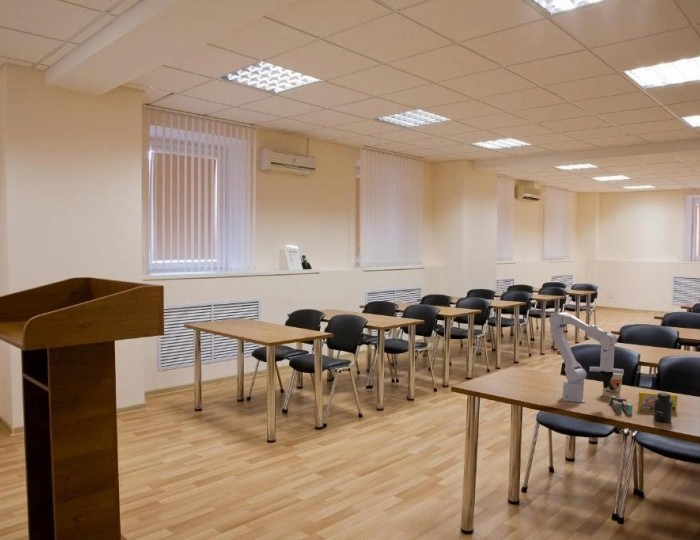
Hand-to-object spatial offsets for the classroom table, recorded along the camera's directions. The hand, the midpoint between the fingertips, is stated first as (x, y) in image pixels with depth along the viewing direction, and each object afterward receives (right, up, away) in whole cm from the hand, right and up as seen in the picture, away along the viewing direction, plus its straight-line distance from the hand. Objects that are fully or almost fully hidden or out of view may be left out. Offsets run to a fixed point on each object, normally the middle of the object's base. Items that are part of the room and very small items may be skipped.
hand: (605, 387), depth 255 cm
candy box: (+23, -11, -3) cm, 25 cm away
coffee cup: (+13, -9, +22) cm, 27 cm away
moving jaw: (+4, -10, -4) cm, 11 cm away
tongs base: (+6, -10, -2) cm, 12 cm away
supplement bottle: (+16, -11, -19) cm, 27 cm away
